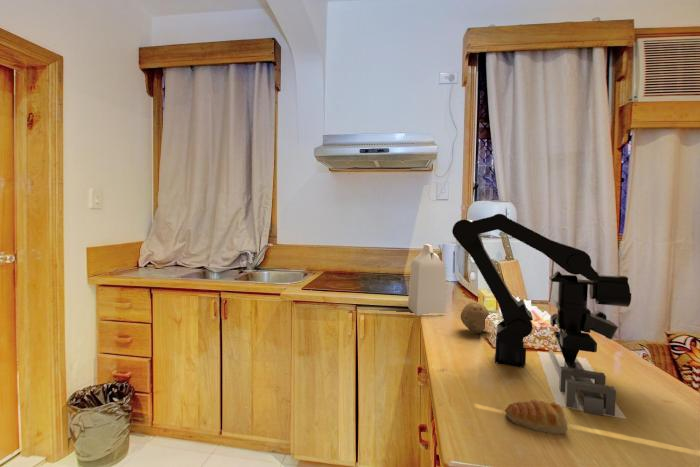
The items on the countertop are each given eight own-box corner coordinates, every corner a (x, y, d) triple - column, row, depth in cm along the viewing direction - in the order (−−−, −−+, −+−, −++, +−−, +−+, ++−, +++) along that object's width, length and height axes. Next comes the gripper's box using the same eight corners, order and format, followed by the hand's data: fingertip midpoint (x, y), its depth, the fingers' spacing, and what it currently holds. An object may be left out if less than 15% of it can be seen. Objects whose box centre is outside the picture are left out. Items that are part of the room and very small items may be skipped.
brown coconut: (453, 330, 109) (454, 299, 109) (473, 326, 114) (474, 297, 113) (475, 339, 101) (476, 306, 101) (495, 335, 105) (497, 303, 105)
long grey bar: (583, 411, 63) (584, 395, 63) (563, 373, 79) (564, 360, 79) (603, 415, 62) (604, 399, 62) (579, 375, 78) (579, 362, 77)
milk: (407, 307, 137) (409, 243, 136) (435, 306, 138) (436, 243, 137) (416, 315, 125) (418, 246, 124) (446, 315, 126) (448, 246, 125)
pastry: (510, 430, 59) (511, 408, 58) (501, 409, 65) (502, 389, 65) (570, 438, 57) (571, 416, 57) (554, 415, 63) (555, 395, 63)
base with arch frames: (556, 408, 65) (557, 381, 65) (537, 353, 91) (538, 333, 91) (626, 422, 61) (628, 393, 61) (585, 360, 87) (586, 340, 87)
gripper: (629, 316, 67) (625, 392, 68) (602, 296, 85) (599, 357, 85) (564, 310, 72) (561, 381, 73) (551, 292, 89) (548, 350, 90)
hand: (569, 366), depth 80 cm, fingers closed
